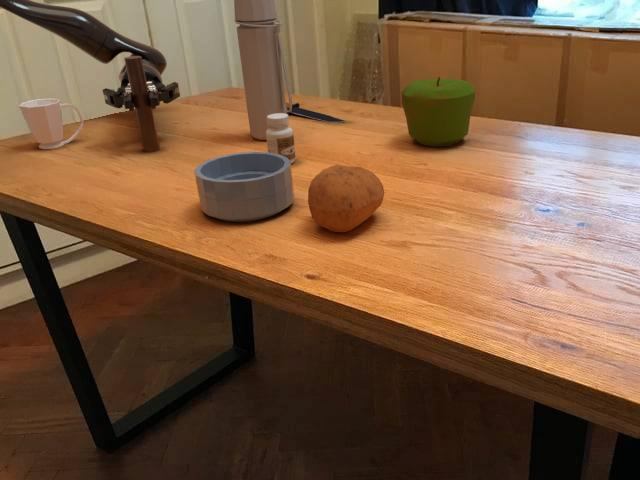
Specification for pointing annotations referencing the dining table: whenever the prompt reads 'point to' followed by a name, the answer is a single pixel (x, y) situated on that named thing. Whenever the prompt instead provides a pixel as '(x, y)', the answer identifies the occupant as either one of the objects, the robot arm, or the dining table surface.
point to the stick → (142, 103)
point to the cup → (47, 121)
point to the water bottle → (261, 62)
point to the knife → (311, 114)
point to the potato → (344, 197)
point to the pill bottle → (280, 136)
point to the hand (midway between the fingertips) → (141, 103)
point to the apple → (438, 110)
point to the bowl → (245, 186)
